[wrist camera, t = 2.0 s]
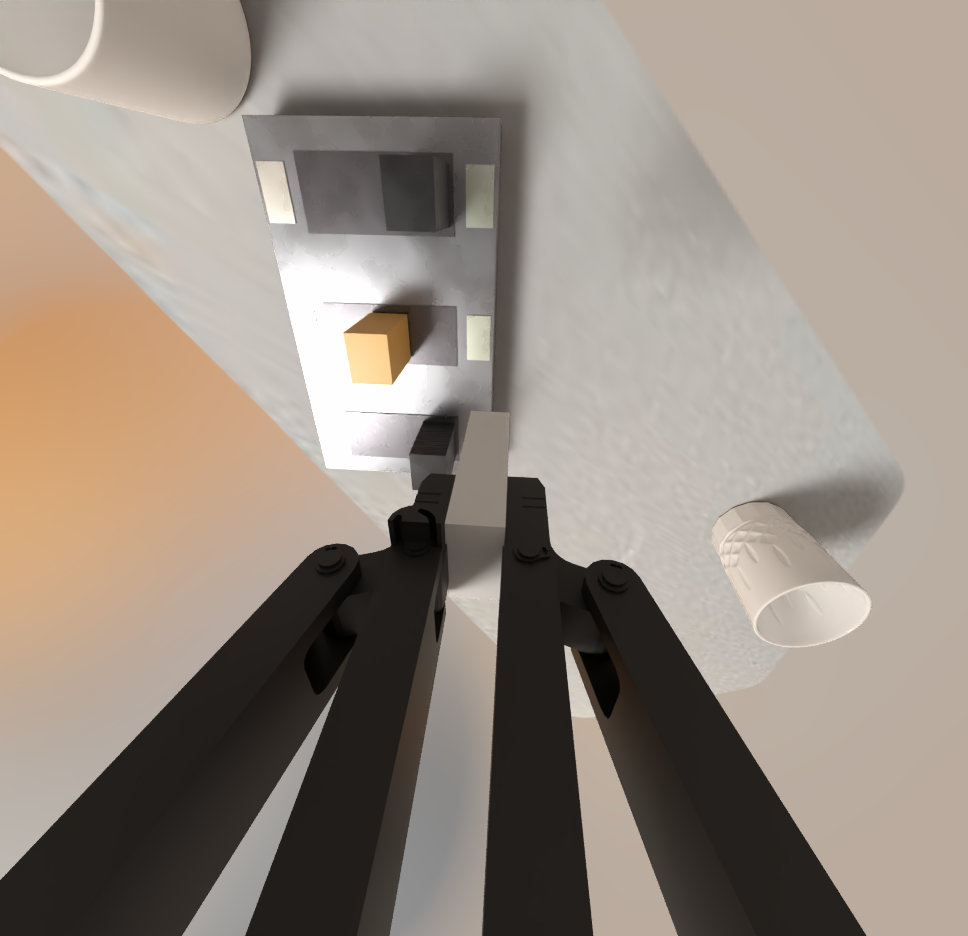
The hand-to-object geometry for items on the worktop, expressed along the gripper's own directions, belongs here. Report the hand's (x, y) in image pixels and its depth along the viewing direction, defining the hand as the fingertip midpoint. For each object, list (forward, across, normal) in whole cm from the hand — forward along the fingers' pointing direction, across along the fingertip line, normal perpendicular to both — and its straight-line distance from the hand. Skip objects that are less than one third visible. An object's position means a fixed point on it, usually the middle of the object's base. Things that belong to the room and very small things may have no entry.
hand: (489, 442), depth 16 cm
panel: (+17, -8, 0) cm, 19 cm away
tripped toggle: (+14, -8, 0) cm, 16 cm away
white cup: (+17, +24, -18) cm, 35 cm away
